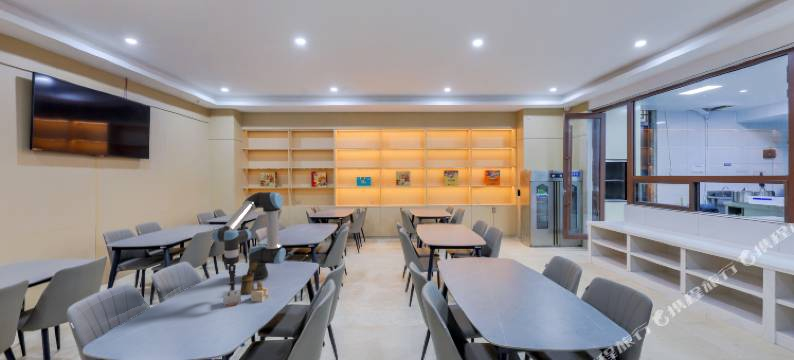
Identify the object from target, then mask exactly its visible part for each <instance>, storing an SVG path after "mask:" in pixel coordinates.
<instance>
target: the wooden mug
mask: <svg viewBox="0 0 794 360" xmlns="http://www.w3.org/2000/svg"><path fill="white" fill-rule="evenodd" d="M257 267H258V263H257V262H253V263H252V264H251V265H250V267H249V266H248V269H249V271H250V273H249V274H247V273H246V274H243V275H242V277H241V280H240V281H241V284H240V285H241V286H240V289H239V290H240V293H241V296H245V295H246V296H248V295H251V291H253V290H254V289H256V288H255V285H254V280H253V278H254V273H253V272H254V271H255V270H256V269H257Z"/></svg>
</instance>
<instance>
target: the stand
mask: <svg viewBox="0 0 794 360" xmlns="http://www.w3.org/2000/svg"><path fill="white" fill-rule="evenodd" d="M256 281H257V280H256ZM268 298H269V287H263V280H258V281H257V282H256V288H255V289H254V290H253V291H251V294H250V302H256V303H257V302H260V303H262V302H264V301H266V299H268Z"/></svg>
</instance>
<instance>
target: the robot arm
mask: <svg viewBox="0 0 794 360" xmlns="http://www.w3.org/2000/svg"><path fill="white" fill-rule="evenodd" d="M283 204H284V200H283V197H282V194H281V193H279V192H274V191H267V192H265V191H264V192H263V191H260V192H256V193H253V194H252V195H250V196H248V197H247V198H246V199H245V200H244V201H243V202H242V205H241V206H240V208H239V209H237V211H236V212H235V213H234V214H233V216H231V218H230V219H229V220H228V221H227V222H226V223H225V224H224V226H223V227H222V228H221V229H216V230H214V231H213V233H212V236H211V238H212V240H213V241H214V242H216V243H217V242H218V243H223V246H224V247H223V248H224V250H223V252H222V253H223V254H224V255H223V256H224V258H223V260H224V264H225V265H228V266H227V270H228V274H229V283H228V286H229V290H230V296H233V295H235V291H236V279H235V277H236V269H237V268H236V267H237V266H236V264H237V263H239V261H240V256H239V253H240V252H239V248H240V247H239V245H240V244H243V243H247V242H248V241H249V240H251V239H252V231H251V230H249V229H247V228H246V229H241V230H240V229H239V227H240V226H241V225H242V224H243V223H244V222H245V220H246V219H247V218H248V217H249V215H250V214H251V213H252V212H255V211H256V210H257V209H262V212H264V214H265V223H266V225H265V227H266V242H267V244H266V245H265V244H261V245H260V244H259V245H255V246H252V247H250V248H249V249H248V270H247V273H246V275H247V274H249V273H250V271H249V267H250V265H251V264H252V263H253V262H257V263H258V267H257V269H256V270H255V271H254V272H253V273H254V278H253V281H257V280H263V279H265V278H267V277H268V276H269V271H268V267H267V265H268V264H271V265H272V264H273V265H279V264H282V263H283V262H284V260H285V258H286V254H287V251H286V248H285V247H283V244H282V243H281V241H280V239H281V238H280V224H279V223H280V222H279V212H280V210H281V208H282V207H283ZM238 229H239V230H238ZM266 264H267V265H266Z"/></svg>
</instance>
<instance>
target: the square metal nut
mask: <svg viewBox="0 0 794 360" xmlns="http://www.w3.org/2000/svg"><path fill="white" fill-rule="evenodd" d="M240 290H241V289H238V290H236V289H235V295H233V296H230V295H229V291H226V292H225V291H224V292H223V294H222V301H223V302H222V303H223V306H225V304H230V303H235V302H239V303H240V302H241V301H242V300H241V299H242V298H241V297H242V295H241V293H240Z"/></svg>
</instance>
